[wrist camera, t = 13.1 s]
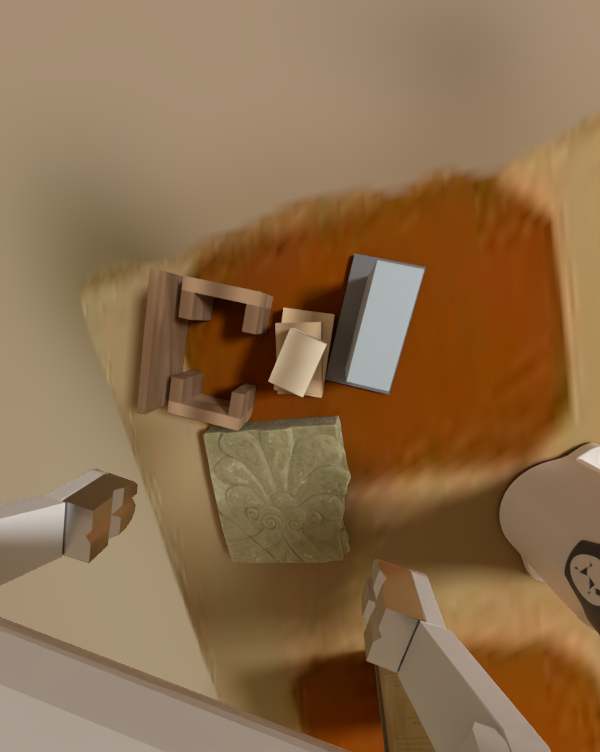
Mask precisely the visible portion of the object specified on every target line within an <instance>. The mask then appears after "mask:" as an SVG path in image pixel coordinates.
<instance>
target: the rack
mask: <svg viewBox="0 0 600 752" xmlns="http://www.w3.org/2000/svg"><path fill="white" fill-rule="evenodd" d="M214 297H217V298H222V299H226V300H231V301H236V302H240V303H245V304H246V310H245V316H244V322H243V328H242V332H247V333H251V334H262V333H267V328H268V323H269V317H270V312H271V306H272V301H273V297H272V296H270V295H267V294H265V293H263V292H258V291H253V290H249V289H244V288H239V287H234V286H230V285H225V284H220V283H215V282H211V281H206V280H201V279H197V278H192V277H187V276H183V277H182V276H179V275H175V274H172V273H169V272H166V271H162V270H159V269H154V268H150V273H149V284H148V295H147V306H146V317H145V327H144V338H143V349H142V360H141V371H140V382H139V393H138V404H137V413H141V414H144V415H145V414H147V413H149V412H151V411H154V410H156V409H158V408H160V407H162V406H164V405H166V404H168V413H172V414H176V415H179V416H183V417H187V418H191V419H195V420H199V421H202V422H206V423H210V424H214V425H218V426H222V427H225V428H229V429H233V430H237V431H238V430H239V429H240V428H241V427H242V426H243V425H244V424H245V423H246V422H247V421H248V420H249V419H250V418H251V415H252V410H253V404H254V399H255V393H256V388H257V385H253V384H249V383H245V384H243V385H242V386H240V387H239V388H237V389H236V390H234V391H232V395H231V401H229V400H225V399H221V398H217V397H213V396H209V395H205V394H201V388H202V381H203V374H204V372H200V371H196V370H191V371H188V372H185V373H182V371H183V363H184V355H185V347H186V339H187V331H188V323H189V320H211V317H212V310H213V303H214Z"/></svg>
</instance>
